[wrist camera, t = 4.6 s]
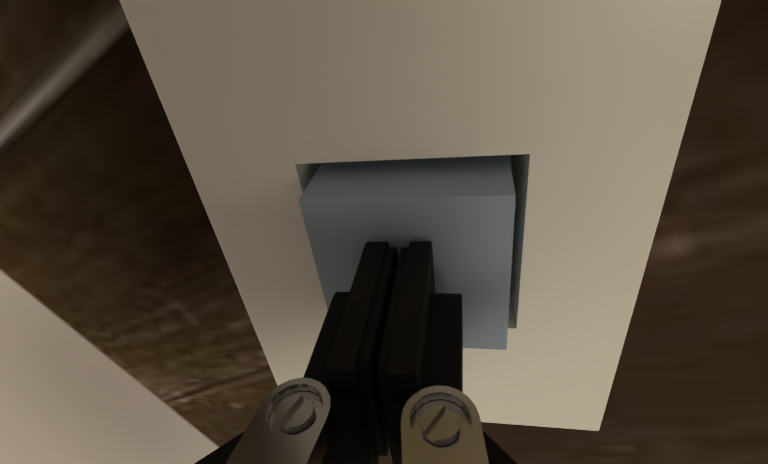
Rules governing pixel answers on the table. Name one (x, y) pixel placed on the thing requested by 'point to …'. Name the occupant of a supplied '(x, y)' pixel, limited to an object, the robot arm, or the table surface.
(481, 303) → the slate-blue button
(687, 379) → the table surface
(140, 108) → the table surface
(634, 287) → the button console
